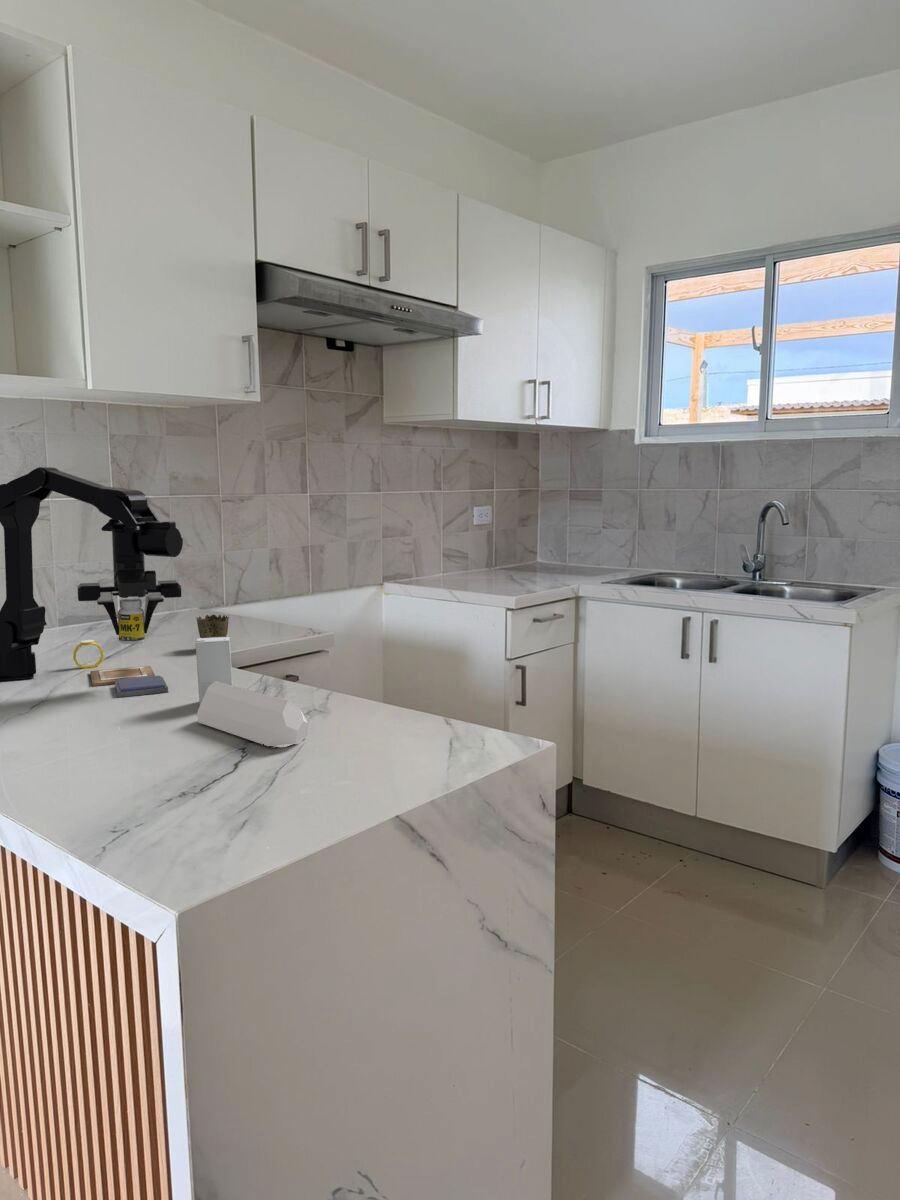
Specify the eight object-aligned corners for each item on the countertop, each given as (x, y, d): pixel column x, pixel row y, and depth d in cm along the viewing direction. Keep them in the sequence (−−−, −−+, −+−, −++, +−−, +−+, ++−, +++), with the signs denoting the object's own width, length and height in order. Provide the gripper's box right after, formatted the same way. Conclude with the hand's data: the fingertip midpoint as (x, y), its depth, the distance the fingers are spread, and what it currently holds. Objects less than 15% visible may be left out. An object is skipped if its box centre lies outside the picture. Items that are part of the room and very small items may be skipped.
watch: (76, 671, 180) (72, 644, 179) (74, 668, 182) (70, 642, 181) (105, 666, 183) (102, 639, 182) (103, 663, 185) (99, 637, 184)
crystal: (179, 703, 139) (267, 731, 124) (211, 675, 144) (300, 700, 128) (200, 735, 143) (288, 767, 128) (231, 707, 147) (319, 735, 132)
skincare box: (233, 699, 156) (231, 635, 154) (233, 705, 152) (230, 640, 150) (199, 701, 155) (196, 637, 153) (198, 707, 150) (195, 641, 149)
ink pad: (118, 697, 157) (117, 689, 157) (115, 686, 165) (114, 679, 165) (168, 692, 161) (167, 684, 161) (162, 682, 169) (162, 674, 169)
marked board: (92, 686, 166) (92, 682, 165) (90, 673, 176) (90, 669, 176) (156, 680, 171) (156, 676, 170) (150, 668, 181) (150, 664, 181)
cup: (210, 653, 196) (209, 620, 195) (191, 650, 201) (190, 617, 200) (236, 648, 202) (235, 616, 201) (217, 645, 207) (215, 613, 205)
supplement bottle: (117, 644, 162) (115, 601, 161) (120, 640, 166) (118, 598, 165) (143, 643, 163) (142, 601, 162) (145, 639, 168) (144, 597, 166)
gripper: (76, 560, 151) (80, 644, 153) (183, 557, 159) (186, 638, 161) (75, 554, 161) (79, 633, 163) (176, 552, 169) (178, 628, 171)
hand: (131, 633), depth 165 cm, fingers closed on supplement bottle, 5 cm apart
